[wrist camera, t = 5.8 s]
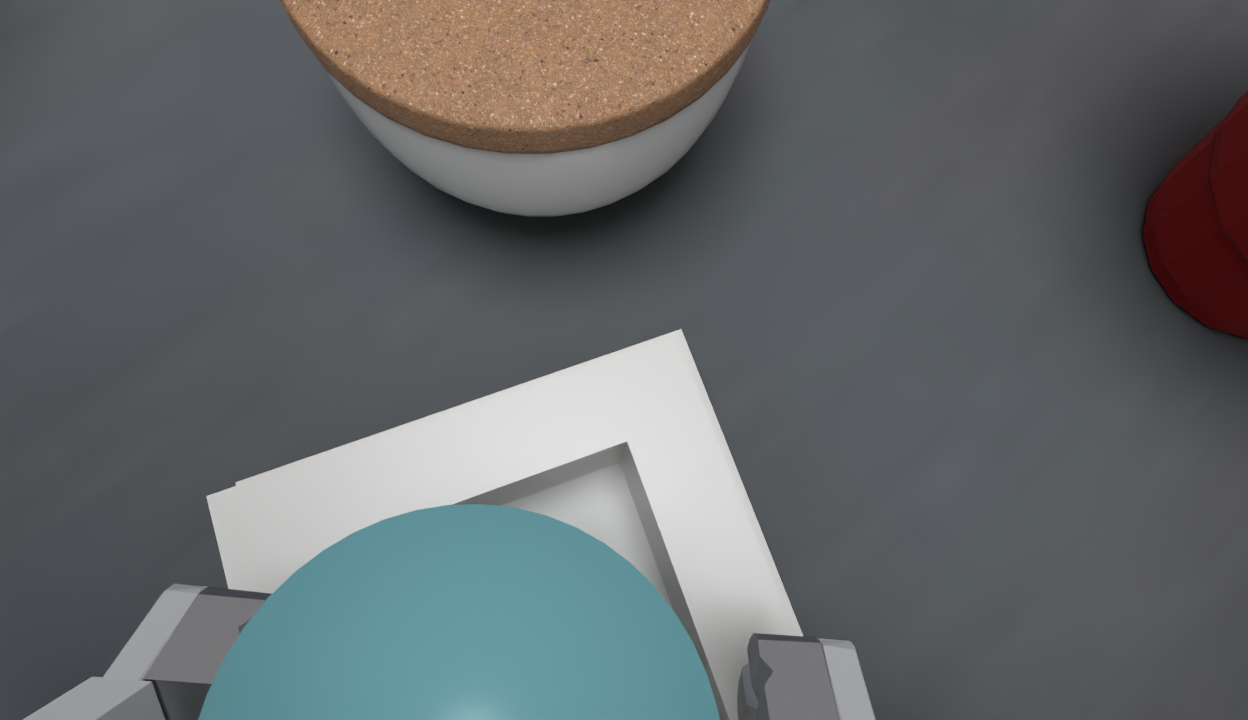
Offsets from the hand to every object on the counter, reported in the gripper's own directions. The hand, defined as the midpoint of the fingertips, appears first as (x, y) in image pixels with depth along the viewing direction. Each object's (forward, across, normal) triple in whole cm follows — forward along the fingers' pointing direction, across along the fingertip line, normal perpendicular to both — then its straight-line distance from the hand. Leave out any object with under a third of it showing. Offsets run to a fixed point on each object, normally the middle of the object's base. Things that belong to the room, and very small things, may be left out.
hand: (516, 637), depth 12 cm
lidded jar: (+16, +2, -4) cm, 16 cm away
